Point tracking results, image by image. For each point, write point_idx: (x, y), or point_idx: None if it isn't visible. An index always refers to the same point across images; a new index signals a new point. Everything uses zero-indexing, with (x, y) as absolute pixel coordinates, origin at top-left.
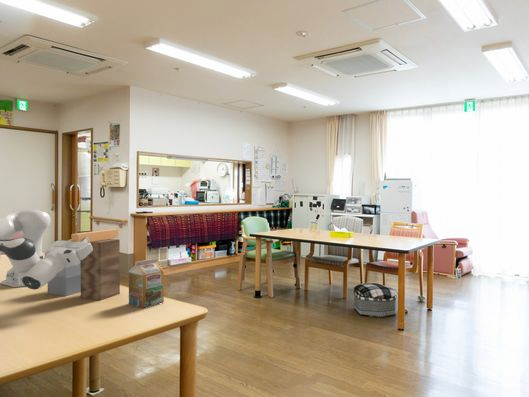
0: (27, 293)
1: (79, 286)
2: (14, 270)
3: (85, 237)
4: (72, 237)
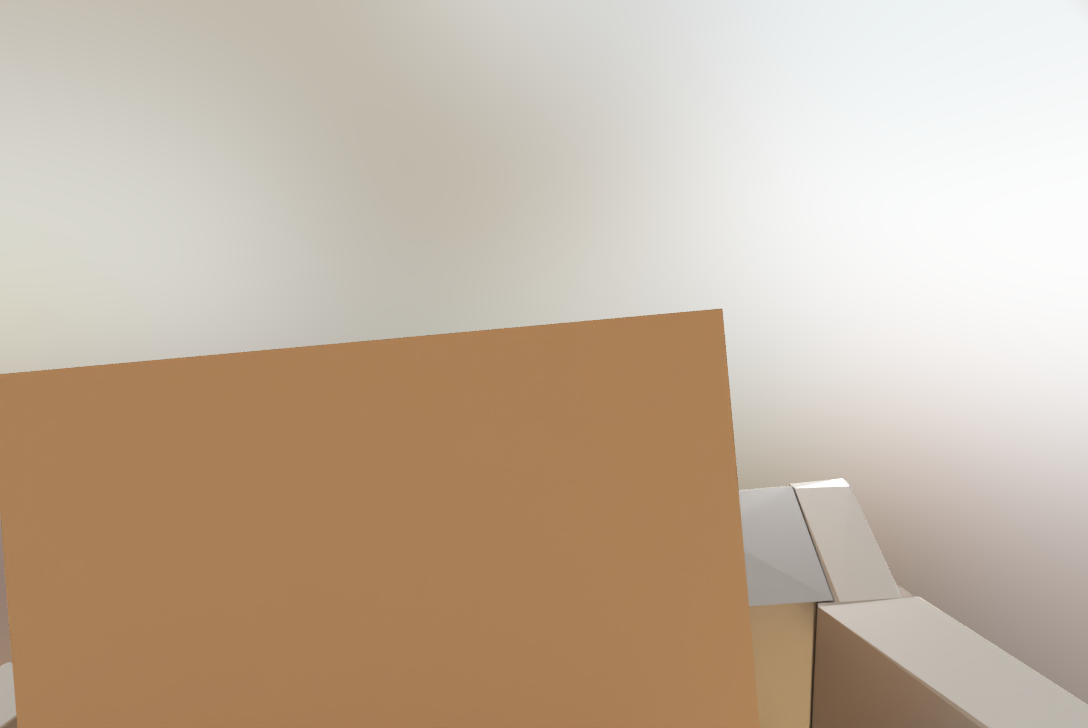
0: None
1: None
2: None
3: (764, 511)
4: (112, 628)
